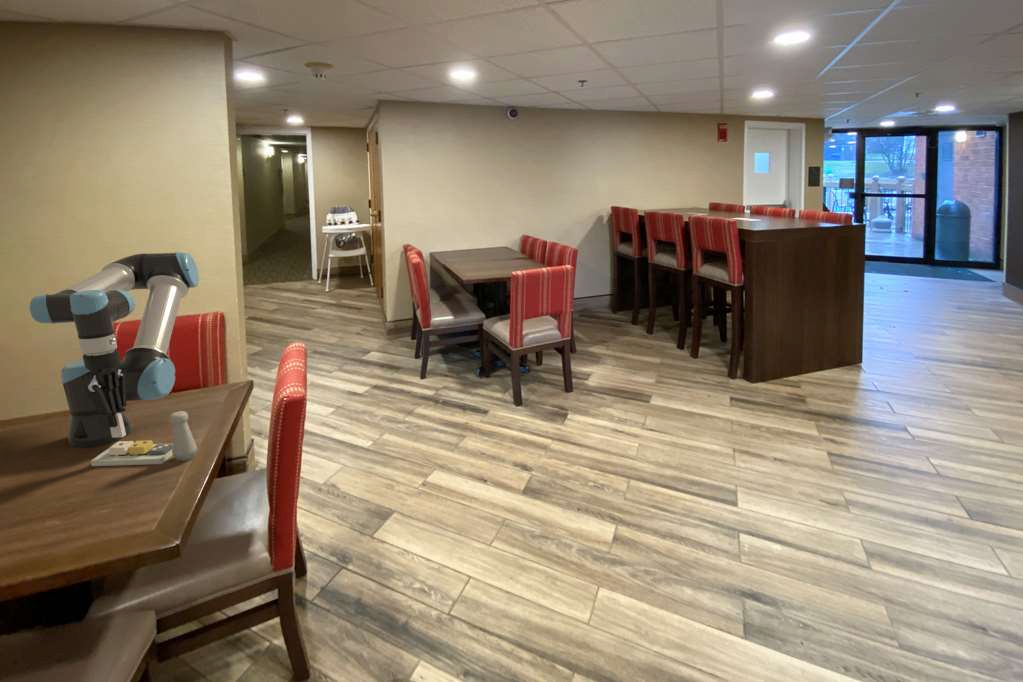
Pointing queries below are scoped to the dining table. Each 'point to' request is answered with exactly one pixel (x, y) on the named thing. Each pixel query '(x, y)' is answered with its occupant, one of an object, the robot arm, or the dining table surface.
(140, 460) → the tile board
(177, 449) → the salt shaker
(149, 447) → the tile
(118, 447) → the tile
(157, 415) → the dining table surface
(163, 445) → the tile
